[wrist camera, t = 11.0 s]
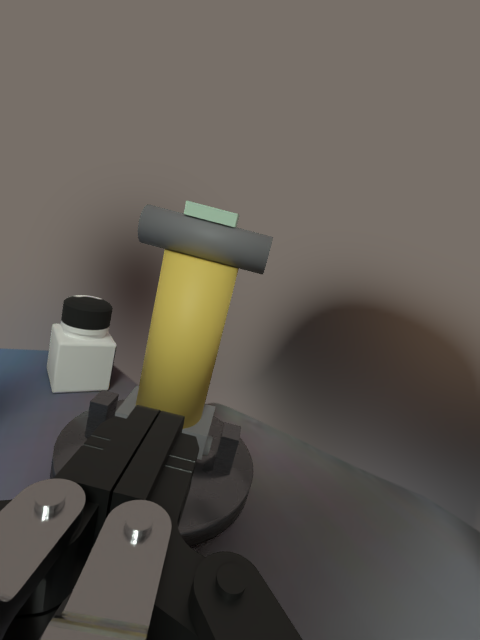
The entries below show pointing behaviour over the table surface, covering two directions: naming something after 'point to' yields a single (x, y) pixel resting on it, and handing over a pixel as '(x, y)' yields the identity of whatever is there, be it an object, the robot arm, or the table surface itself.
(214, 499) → the dark grey round stand
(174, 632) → the robot arm
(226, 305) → the yellow mallet
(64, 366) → the medicine bottle
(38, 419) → the table surface
